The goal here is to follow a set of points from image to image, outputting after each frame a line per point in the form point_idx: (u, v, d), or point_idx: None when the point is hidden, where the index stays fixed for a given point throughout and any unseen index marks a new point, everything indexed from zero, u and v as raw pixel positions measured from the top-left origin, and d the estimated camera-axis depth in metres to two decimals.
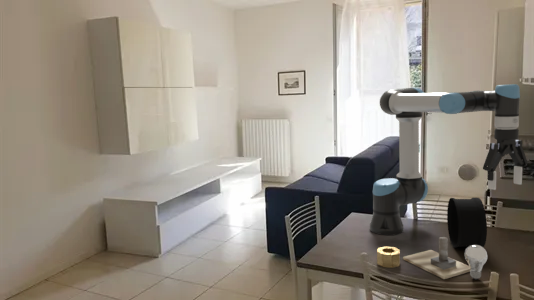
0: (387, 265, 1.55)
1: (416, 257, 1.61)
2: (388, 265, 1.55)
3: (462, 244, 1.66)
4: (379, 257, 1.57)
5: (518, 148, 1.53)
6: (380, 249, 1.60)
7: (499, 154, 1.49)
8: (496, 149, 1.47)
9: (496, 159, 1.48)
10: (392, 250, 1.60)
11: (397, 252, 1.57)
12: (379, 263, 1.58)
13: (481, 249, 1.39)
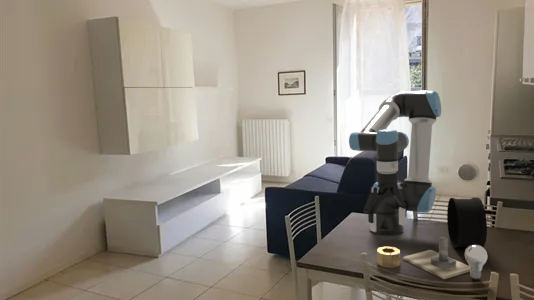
0: (387, 265, 1.55)
1: (416, 257, 1.61)
2: (388, 265, 1.55)
3: (462, 244, 1.66)
4: (379, 257, 1.57)
5: (401, 191, 1.57)
6: (380, 249, 1.60)
7: (379, 197, 1.53)
8: (375, 193, 1.51)
9: (376, 202, 1.53)
10: (392, 250, 1.60)
11: (397, 252, 1.57)
12: (379, 263, 1.58)
13: (481, 249, 1.39)
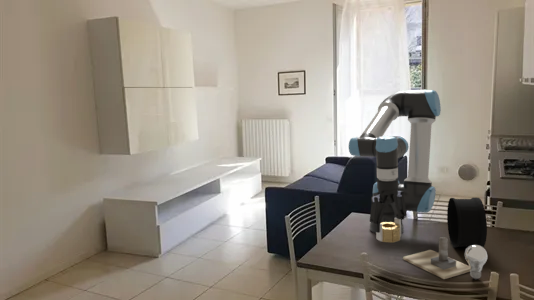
0: (387, 240, 1.55)
1: (416, 257, 1.61)
2: (388, 240, 1.54)
3: (462, 244, 1.66)
4: None
5: (400, 199, 1.58)
6: None
7: (382, 206, 1.54)
8: (376, 202, 1.52)
9: (380, 211, 1.54)
10: (392, 225, 1.59)
11: (397, 226, 1.56)
12: None
13: (481, 249, 1.39)
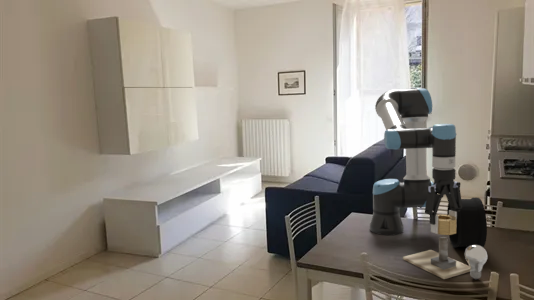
0: (443, 232, 1.47)
1: (416, 257, 1.61)
2: (445, 232, 1.47)
3: (462, 244, 1.66)
4: None
5: (455, 190, 1.51)
6: None
7: (438, 196, 1.47)
8: (433, 192, 1.45)
9: (436, 202, 1.47)
10: (447, 217, 1.51)
11: (453, 218, 1.48)
12: None
13: (481, 249, 1.39)
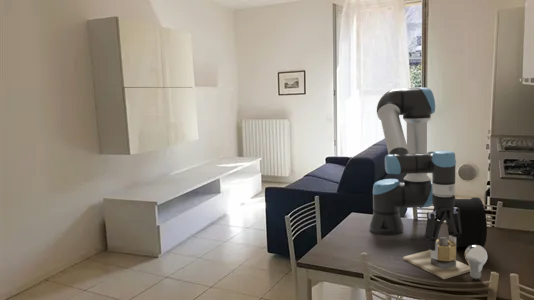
0: (443, 258, 1.48)
1: (416, 257, 1.61)
2: (444, 258, 1.48)
3: (462, 244, 1.66)
4: None
5: (455, 216, 1.52)
6: None
7: (438, 223, 1.49)
8: (433, 219, 1.47)
9: (436, 228, 1.49)
10: None
11: (453, 244, 1.50)
12: None
13: (481, 249, 1.39)
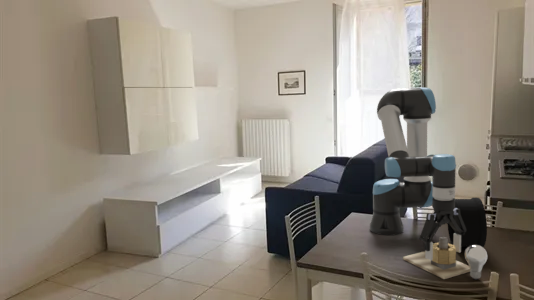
0: (443, 262, 1.49)
1: (416, 257, 1.61)
2: (444, 262, 1.49)
3: (462, 244, 1.66)
4: (434, 253, 1.51)
5: (456, 216, 1.53)
6: (434, 245, 1.53)
7: (436, 224, 1.48)
8: (432, 220, 1.47)
9: (433, 230, 1.48)
10: None
11: (453, 248, 1.50)
12: (434, 260, 1.51)
13: (481, 249, 1.39)
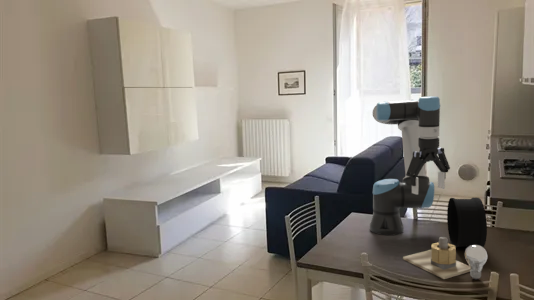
0: (443, 262, 1.49)
1: (416, 257, 1.61)
2: (444, 262, 1.49)
3: (462, 244, 1.66)
4: (434, 253, 1.51)
5: (441, 155, 1.65)
6: (434, 245, 1.53)
7: (421, 161, 1.60)
8: (418, 157, 1.59)
9: (418, 166, 1.60)
10: None
11: (453, 248, 1.50)
12: (434, 260, 1.51)
13: (481, 249, 1.39)
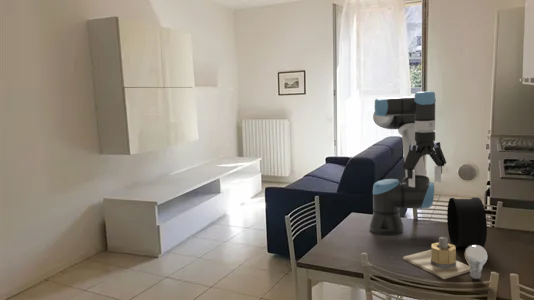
0: (443, 262, 1.49)
1: (416, 257, 1.61)
2: (444, 262, 1.49)
3: (462, 244, 1.66)
4: (434, 253, 1.51)
5: (437, 149, 1.68)
6: (434, 245, 1.53)
7: (418, 155, 1.64)
8: (414, 150, 1.62)
9: (415, 159, 1.64)
10: None
11: (453, 248, 1.50)
12: (434, 260, 1.51)
13: (481, 249, 1.39)
